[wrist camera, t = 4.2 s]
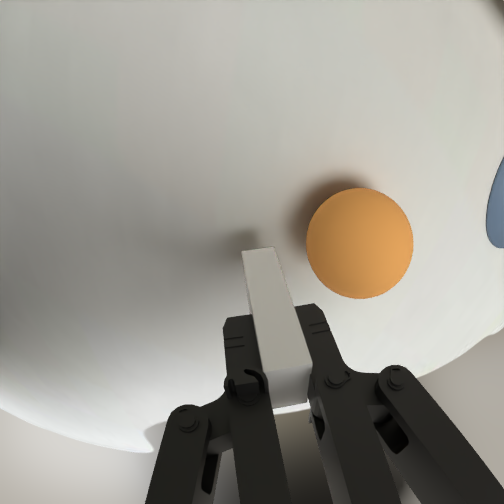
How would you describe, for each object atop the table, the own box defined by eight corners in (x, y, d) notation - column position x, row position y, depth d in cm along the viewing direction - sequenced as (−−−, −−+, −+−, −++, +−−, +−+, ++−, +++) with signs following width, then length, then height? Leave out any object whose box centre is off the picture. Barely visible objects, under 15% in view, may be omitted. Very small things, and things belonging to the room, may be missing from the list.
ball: (294, 264, 18) (324, 333, 14) (291, 178, 15) (332, 233, 10) (374, 248, 18) (418, 306, 14) (384, 168, 15) (445, 214, 11)
